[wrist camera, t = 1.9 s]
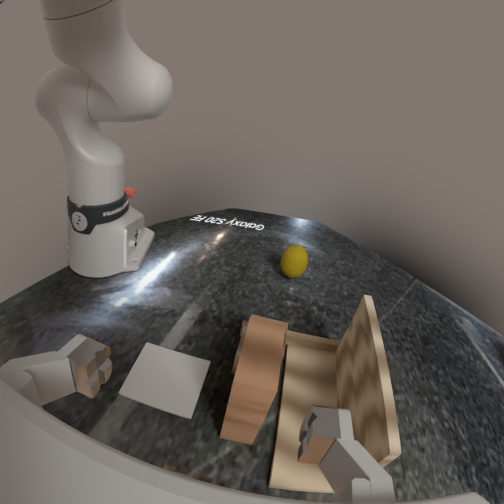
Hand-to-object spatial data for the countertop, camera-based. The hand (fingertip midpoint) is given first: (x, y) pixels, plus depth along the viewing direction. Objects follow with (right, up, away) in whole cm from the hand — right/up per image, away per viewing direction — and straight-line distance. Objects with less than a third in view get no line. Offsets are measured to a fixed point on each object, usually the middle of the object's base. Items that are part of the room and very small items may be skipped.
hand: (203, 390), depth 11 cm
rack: (+6, -16, +27) cm, 32 cm away
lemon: (+10, 0, +54) cm, 55 cm away
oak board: (+1, -16, +25) cm, 29 cm away
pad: (-10, -12, +27) cm, 31 cm away
